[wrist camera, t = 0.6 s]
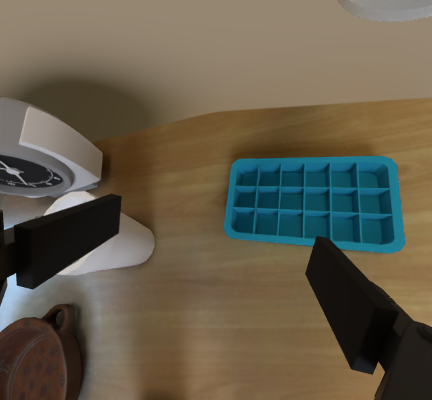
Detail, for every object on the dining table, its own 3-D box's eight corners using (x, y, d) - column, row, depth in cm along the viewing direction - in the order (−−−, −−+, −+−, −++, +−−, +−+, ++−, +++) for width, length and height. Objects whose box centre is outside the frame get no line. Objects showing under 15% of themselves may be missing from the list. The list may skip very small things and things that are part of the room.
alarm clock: (40, 208, 46) (-124, 164, 28) (46, 172, 49) (-98, 110, 31) (114, 190, 42) (-22, 123, 23) (116, 151, 45) (-3, 65, 26)
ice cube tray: (236, 167, 36) (232, 159, 33) (385, 166, 29) (395, 155, 27) (228, 240, 32) (222, 237, 30) (393, 256, 26) (406, 254, 23)
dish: (-20, 440, 34) (-67, 465, 30) (38, 289, 40) (6, 290, 35) (60, 504, 28) (17, 547, 24) (115, 316, 34) (88, 322, 29)
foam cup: (118, 284, 35) (35, 288, 24) (109, 231, 39) (33, 212, 27) (170, 260, 34) (108, 252, 22) (155, 208, 38) (96, 178, 26)
